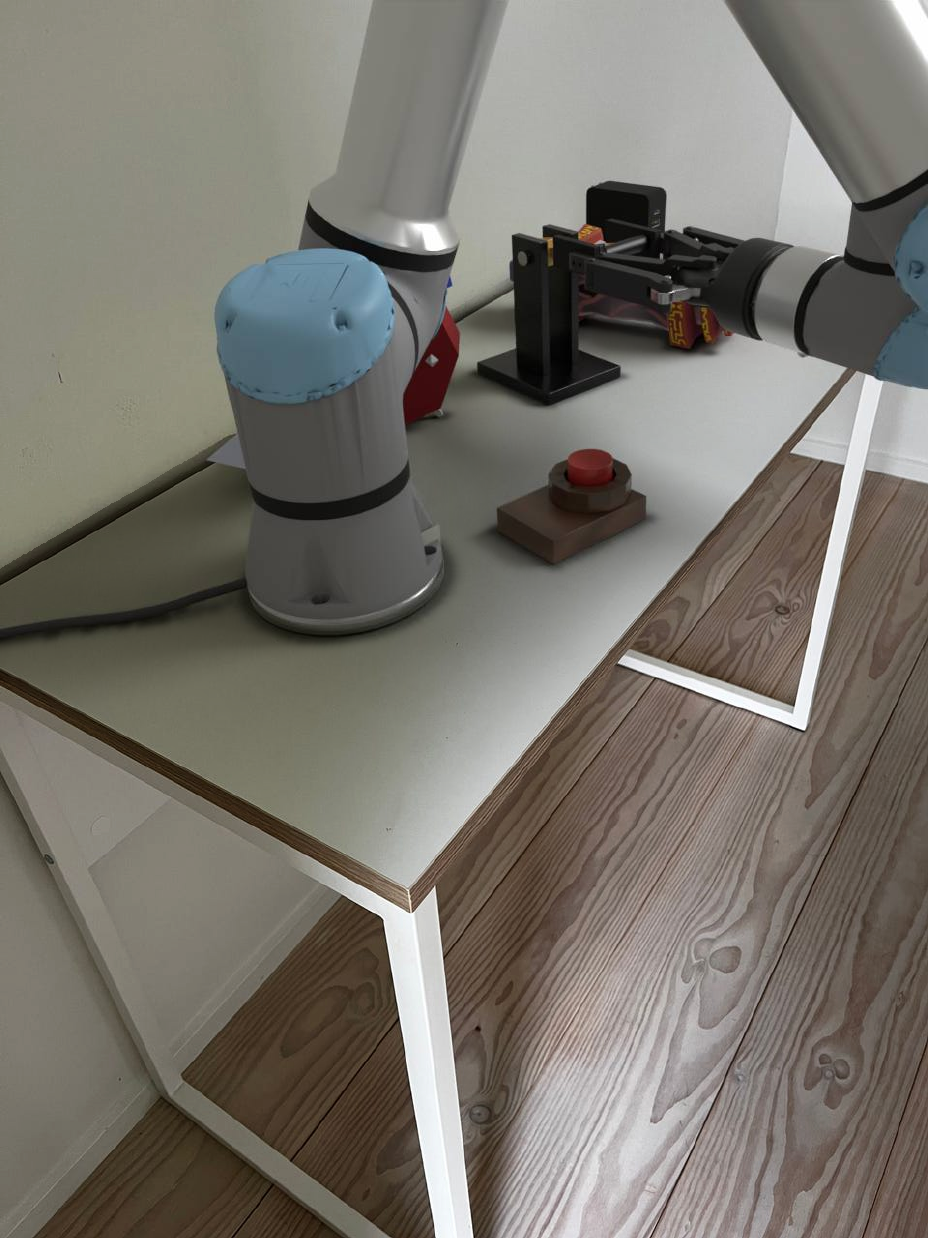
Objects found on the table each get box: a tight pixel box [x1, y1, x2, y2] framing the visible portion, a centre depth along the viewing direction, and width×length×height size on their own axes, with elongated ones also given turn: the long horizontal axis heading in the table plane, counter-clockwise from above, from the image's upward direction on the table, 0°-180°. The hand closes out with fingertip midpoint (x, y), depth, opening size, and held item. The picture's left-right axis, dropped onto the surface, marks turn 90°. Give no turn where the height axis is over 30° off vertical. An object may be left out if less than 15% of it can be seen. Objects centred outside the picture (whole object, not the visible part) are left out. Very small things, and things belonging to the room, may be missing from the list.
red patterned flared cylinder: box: [508, 223, 735, 350], centre depth 115 cm, size 10×9×30 cm
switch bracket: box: [476, 223, 622, 406], centre depth 103 cm, size 12×10×15 cm
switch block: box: [496, 457, 647, 565], centre depth 80 cm, size 10×7×4 cm
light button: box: [566, 448, 614, 487], centre depth 80 cm, size 4×4×2 cm
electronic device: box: [585, 180, 668, 242], centre depth 133 cm, size 4×10×10 cm, turn 47°
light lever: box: [539, 234, 651, 266], centre depth 95 cm, size 13×6×2 cm, turn 37°
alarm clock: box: [403, 276, 461, 426], centre depth 94 cm, size 15×9×20 cm, turn 89°
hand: (582, 241), depth 94 cm, fingers closed on light lever, 6 cm apart
